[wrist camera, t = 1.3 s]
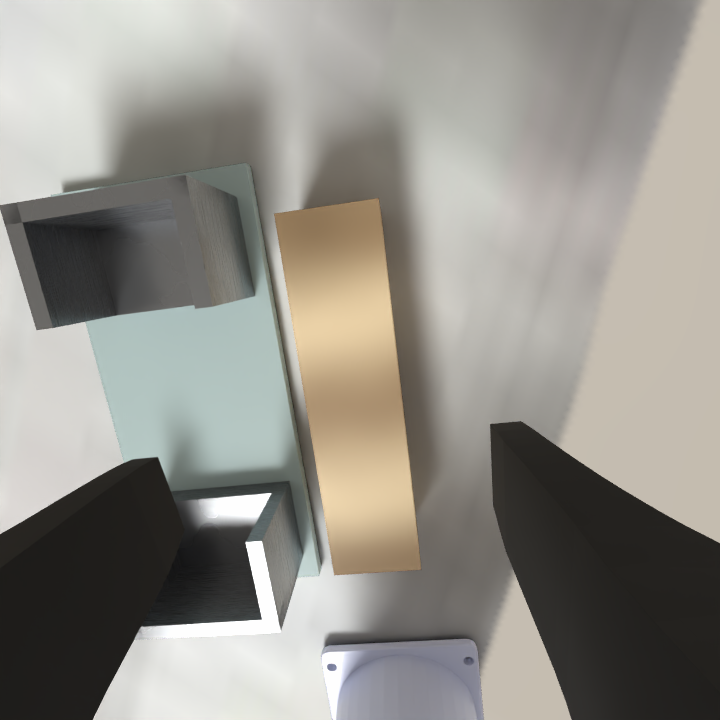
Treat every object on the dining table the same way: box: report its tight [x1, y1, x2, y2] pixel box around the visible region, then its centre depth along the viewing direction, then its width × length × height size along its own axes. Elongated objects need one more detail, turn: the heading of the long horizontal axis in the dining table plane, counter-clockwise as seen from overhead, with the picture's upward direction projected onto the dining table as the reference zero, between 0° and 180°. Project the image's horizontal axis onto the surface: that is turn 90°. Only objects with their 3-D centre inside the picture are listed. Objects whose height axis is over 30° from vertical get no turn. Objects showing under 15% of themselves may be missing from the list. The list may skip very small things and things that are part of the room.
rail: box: [274, 198, 421, 575], centre depth 17 cm, size 14×4×4 cm, turn 7°
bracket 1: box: [0, 175, 255, 330], centre depth 16 cm, size 4×6×4 cm, turn 98°
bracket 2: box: [134, 481, 303, 640], centre depth 18 cm, size 4×6×4 cm, turn 98°
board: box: [51, 163, 321, 577], centre depth 19 cm, size 19×8×1 cm, turn 8°
